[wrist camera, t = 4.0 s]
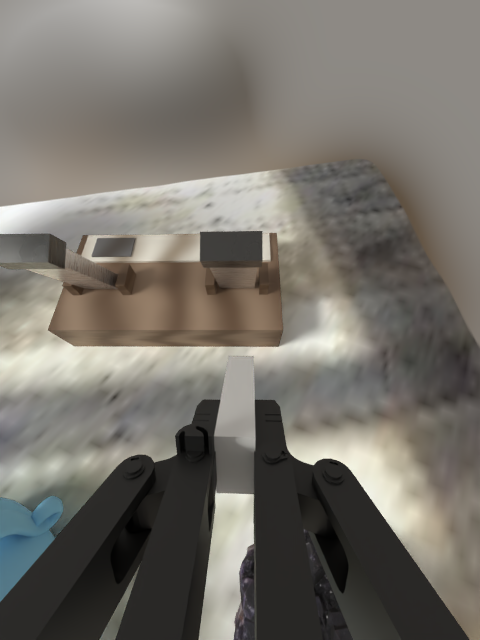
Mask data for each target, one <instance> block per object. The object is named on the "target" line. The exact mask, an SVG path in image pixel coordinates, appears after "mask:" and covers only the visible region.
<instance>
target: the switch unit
mask: <svg viewBox="0 0 480 640" xmlns="http://www.w3.org/2000/svg"><path fill="white" fill-rule="evenodd" d="M262 250H263V261H262V267H257V273H256V281H255V288H220V287H219V285H218V283H217V281H216V279H215V277H214V275H213V273H212V271H211V270H210V268H204V267H203V266H202V264H201V262H200V234H159V235H83V237H82V239H81V242H80V245H79V248H78V250H77V254H79V255H81V256H83V257H85V258H86V259H88V260H90V261H92V262H94V263H96V264H98V265H100V266H102V267H104V268H106V269H108V270H110V271H112V272H114V273H116V274H118V277H117V281H116V285H115V286H116V287H117V288H118V289H85V288H81V287H78V286H75V285H72V284H69V283H66V282H64V283H63V285H62V286H63V287H64V288H63V290H62V293H61V296H60V298H59V301H58V304H57V307H56V309H55V312H54V315H53V317H52V320H51V323H50V325H49V328H48V330H49V331H50V332H52V333H53V334H55V335H57V336H58V337H60V338H62V339H63V340H65V341H67V342H68V343H70V344H72V345H73V346H250V347H278V346H279V343H280V339H281V335H282V332H283V322H282V306H281V291H280V276H279V261H278V246H277V233H262Z"/></svg>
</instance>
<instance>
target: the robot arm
mask: <svg viewBox="0 0 480 640" xmlns="http://www.w3.org/2000/svg"><path fill="white" fill-rule="evenodd" d="M175 438H176V447H177V455H176V456H174V457H172V458H170V459H167V460H163V461H159V462H155V463H154V461H153V460H152V458H151V457H149V456H147V455H135V456H131V457H129V458H127V459H126V460H124V461H123V462H122V463H120V464H119V465H118V466H117V468H116V469H115V470H114V471H113V472H112V473H111V474H110V476H109V477H108V478H107V479H106V480H105V481H104V483H103V484H102V485H101V486H100V487H99V488H98V490H97V491H96V492H95V493H94V494H93V495H92V496H91V498H90V499H89V500H88V501H87V502H86V503H85V505H84V506H83V507H82V508H81V509H80V510H79V511H78V513H77V514H76V515H75V516H74V517H73V518H72V520H71V521H70V522H69V523H68V524H67V525H66V527H65V528H64V529H63V530H62V531H61V532H60V533H59V535H58V536H57V537H56V538H55V539H54V540H53V542H52V543H51V544H50V545H49V546H48V547H47V549H46V550H45V551H44V552H43V553H42V554H41V555H40V557H39V558H38V559H37V560H36V561H35V562H34V564H33V565H32V566H31V567H30V568H29V569H28V571H27V572H26V573H25V574H24V575H23V576H22V577H21V579H20V580H19V581H18V582H17V583H16V584H15V586H14V587H13V588H12V589H11V590H10V591H9V593H8V594H7V595H6V596H5V597H4V598H3V599H2V601H1V602H0V640H99V639H100V637H101V635H102V633H103V631H104V629H105V628H106V626H107V624H108V622H109V620H110V618H111V616H112V615H113V613H114V611H115V609H116V607H117V605H118V604H119V602H120V600H121V598H122V596H123V594H124V592H125V591H126V589H127V587H128V585H129V583H130V581H131V580H132V578H133V576H134V574H135V572H136V570H137V568H138V567H139V565H140V567H139V570H138V573H137V576H136V579H135V582H134V585H133V588H132V591H131V594H130V598H129V601H128V604H127V607H126V610H125V613H124V616H123V619H122V622H121V625H120V628H119V631H118V634H117V637H116V640H198V638H199V630H200V623H201V615H202V607H203V599H204V591H205V584H206V576H207V568H208V560H209V552H210V544H211V537H212V529H213V521H214V513H215V492H217V493H239V494H254V604H255V640H323V637H322V631H321V626H320V620H319V614H318V609H317V603H316V597H315V592H314V586H313V580H312V575H311V569H310V563H309V557H308V552H307V546H306V540H305V535H304V529H305V530H307V531H308V532H309V535H310V537H311V540H312V542H313V544H314V547H315V549H316V552H317V554H318V557H319V559H320V561H321V564H322V566H323V569H324V571H325V573H326V576H327V578H328V581H329V583H330V585H331V588H332V590H333V593H334V595H335V597H336V600H337V602H338V605H339V607H340V609H341V612H342V614H343V617H344V619H345V621H346V624H347V626H348V629H349V631H350V633H351V636H352V638H353V640H469V638H468V637H467V635H466V634H465V632H464V631H463V630H462V628H461V627H460V625H459V624H458V623H457V621H456V620H455V618H454V617H453V615H452V614H451V613H450V611H449V610H448V608H447V607H446V605H445V604H444V603H443V601H442V600H441V598H440V597H439V595H438V594H437V593H436V591H435V590H434V588H433V587H432V586H431V584H430V583H429V581H428V580H427V578H426V577H425V576H424V574H423V573H422V571H421V570H420V568H419V567H418V566H417V564H416V563H415V561H414V560H413V559H412V557H411V556H410V554H409V553H408V551H407V550H406V549H405V547H404V546H403V544H402V543H401V541H400V540H399V539H398V537H397V536H396V534H395V533H394V532H393V530H392V529H391V527H390V526H389V524H388V523H387V522H386V520H385V519H384V517H383V516H382V514H381V513H380V512H379V510H378V509H377V507H376V506H375V505H374V503H373V502H372V500H371V499H370V497H369V496H368V495H367V493H366V492H365V490H364V489H363V487H362V486H361V485H360V483H359V482H358V480H357V479H356V478H355V476H354V475H353V473H352V472H351V471H350V470H349V468H348V467H347V466H346V465H344V464H343V463H341V462H339V461H337V460H333V459H322V460H319V461H317V462H316V464H315V465H314V466H313V465H310V464H307V463H304V462H301V461H299V460H297V459H296V458H294V457H293V456H292V455H291V454H290V453H289V451H288V449H287V446H286V441H285V435H284V429H283V423H282V417H281V411H280V406H279V405H278V404H277V403H276V401H275V400H255V394H254V356H229V357H228V362H227V367H226V373H225V378H224V384H223V389H222V395H221V400H202V401H201V402H200V404H199V405H198V406H197V408H196V411H195V415H194V418H193V421H192V424H190V425H187V426H185V427H183V428H182V429H180V430H179V431H178V432H177V434H176V435H175ZM140 563H141V564H140Z"/></svg>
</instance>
